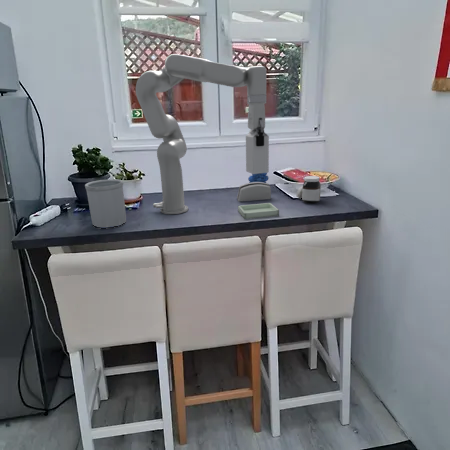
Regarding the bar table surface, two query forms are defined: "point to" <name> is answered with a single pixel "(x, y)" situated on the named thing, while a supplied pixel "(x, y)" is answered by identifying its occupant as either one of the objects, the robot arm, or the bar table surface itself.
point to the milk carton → (257, 154)
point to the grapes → (258, 177)
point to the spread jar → (310, 190)
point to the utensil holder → (106, 202)
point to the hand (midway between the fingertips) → (257, 144)
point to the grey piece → (254, 191)
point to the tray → (258, 210)
